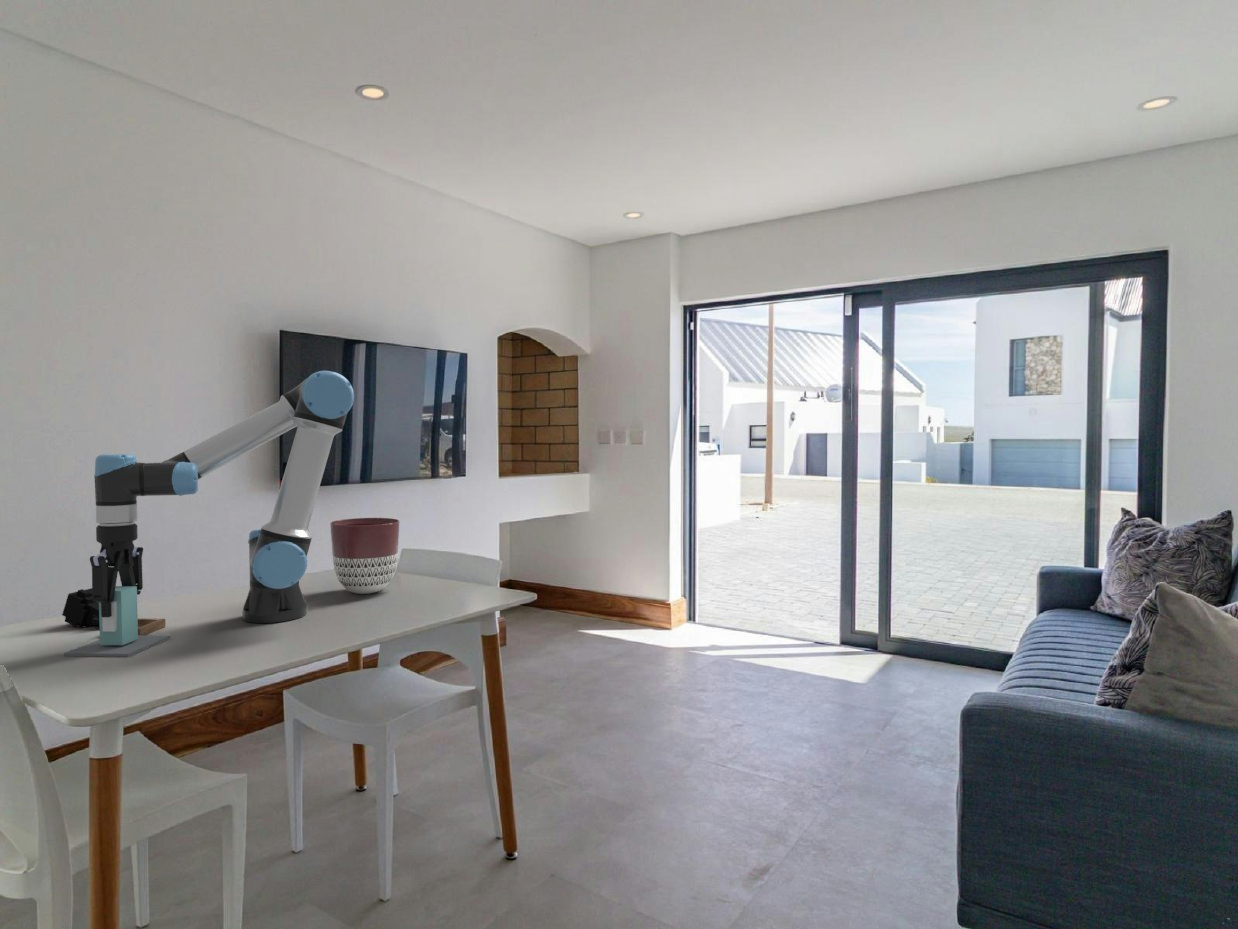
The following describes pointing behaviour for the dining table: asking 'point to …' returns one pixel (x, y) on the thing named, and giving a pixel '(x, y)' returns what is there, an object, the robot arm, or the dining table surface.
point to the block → (122, 618)
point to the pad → (118, 647)
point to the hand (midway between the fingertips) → (119, 627)
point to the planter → (365, 552)
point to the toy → (81, 609)
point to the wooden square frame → (149, 625)
